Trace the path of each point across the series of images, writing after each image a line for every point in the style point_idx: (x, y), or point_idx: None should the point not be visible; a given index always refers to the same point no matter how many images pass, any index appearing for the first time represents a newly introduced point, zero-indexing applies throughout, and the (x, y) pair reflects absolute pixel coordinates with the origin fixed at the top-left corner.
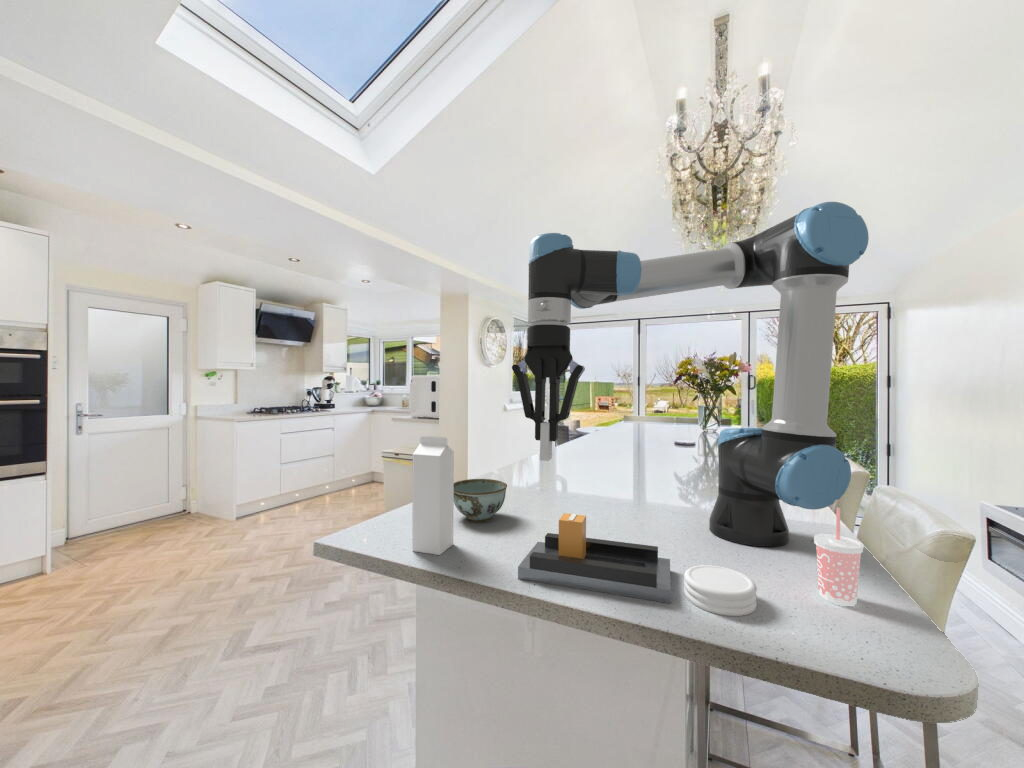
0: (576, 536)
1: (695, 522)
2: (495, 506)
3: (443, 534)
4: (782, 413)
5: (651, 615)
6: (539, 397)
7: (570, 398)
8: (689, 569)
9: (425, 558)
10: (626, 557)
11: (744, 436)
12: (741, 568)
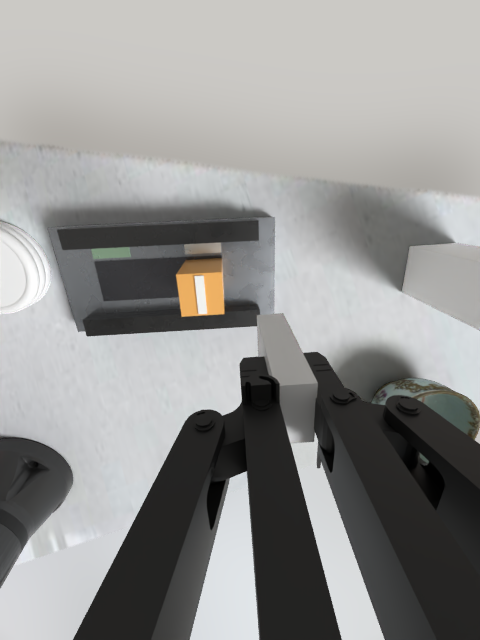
0: (189, 267)
1: (95, 487)
2: (375, 402)
3: (425, 263)
4: None
5: (70, 182)
6: (401, 522)
7: (127, 545)
8: (29, 283)
9: (427, 227)
10: (134, 311)
11: None
12: (5, 366)
